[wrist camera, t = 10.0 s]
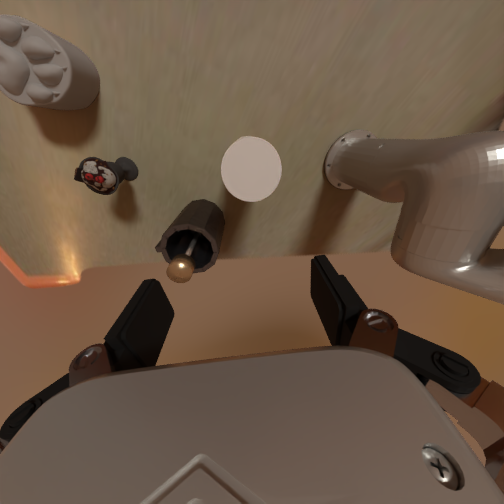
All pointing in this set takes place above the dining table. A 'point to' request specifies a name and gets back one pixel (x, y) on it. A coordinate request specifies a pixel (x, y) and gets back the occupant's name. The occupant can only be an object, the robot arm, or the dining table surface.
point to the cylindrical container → (251, 169)
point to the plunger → (183, 263)
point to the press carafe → (179, 236)
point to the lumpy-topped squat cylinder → (44, 67)
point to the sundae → (105, 174)
